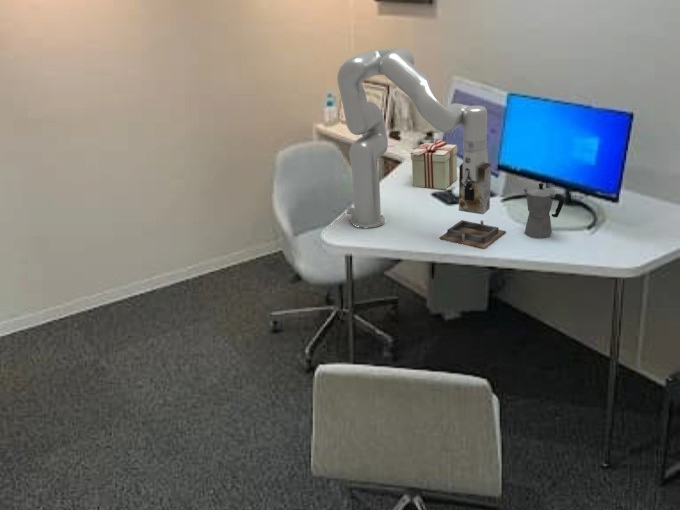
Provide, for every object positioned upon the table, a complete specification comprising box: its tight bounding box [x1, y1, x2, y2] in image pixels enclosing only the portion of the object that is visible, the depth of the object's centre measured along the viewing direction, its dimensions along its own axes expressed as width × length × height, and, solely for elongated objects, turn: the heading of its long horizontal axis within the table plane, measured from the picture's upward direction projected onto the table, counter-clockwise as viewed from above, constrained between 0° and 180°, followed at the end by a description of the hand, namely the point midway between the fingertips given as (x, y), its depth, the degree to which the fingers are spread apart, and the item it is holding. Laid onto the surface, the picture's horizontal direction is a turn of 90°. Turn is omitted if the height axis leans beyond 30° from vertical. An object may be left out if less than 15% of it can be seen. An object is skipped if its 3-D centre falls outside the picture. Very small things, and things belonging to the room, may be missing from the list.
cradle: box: [438, 219, 507, 250], centre depth 247 cm, size 17×16×3 cm
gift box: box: [410, 138, 458, 190], centre depth 297 cm, size 17×18×17 cm
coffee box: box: [458, 162, 492, 215], centre depth 240 cm, size 9×6×16 cm
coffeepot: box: [523, 182, 565, 239], centre depth 243 cm, size 15×9×18 cm, turn 43°
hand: (474, 196), depth 242 cm, fingers closed on coffee box, 6 cm apart
